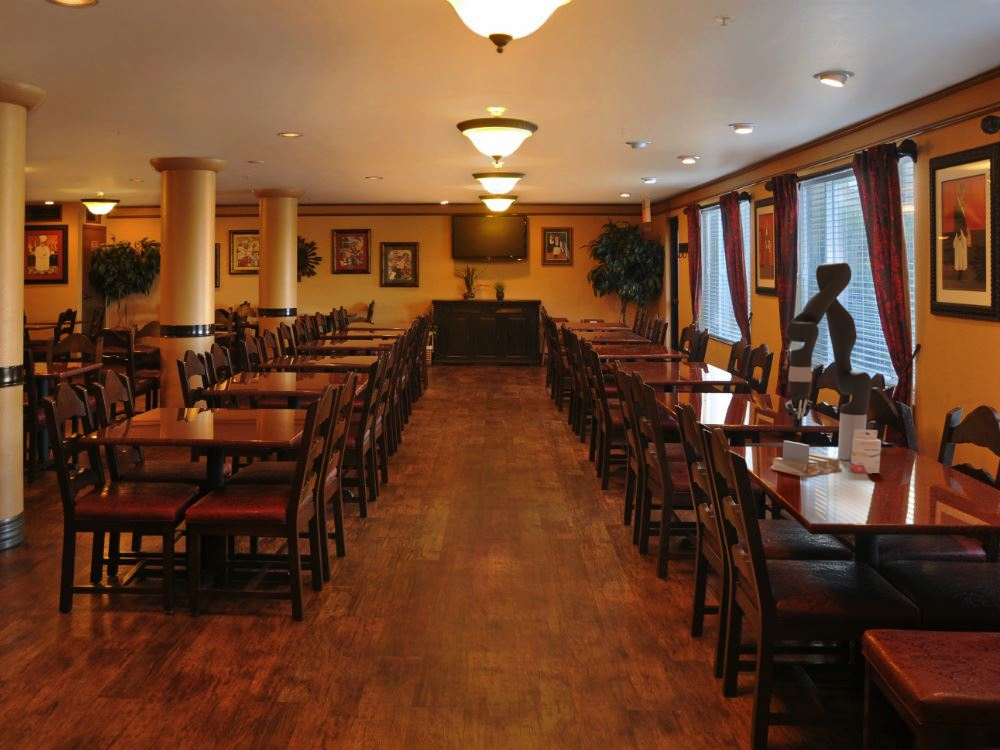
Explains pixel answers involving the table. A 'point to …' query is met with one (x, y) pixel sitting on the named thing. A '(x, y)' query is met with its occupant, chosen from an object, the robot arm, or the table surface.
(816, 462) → the rack
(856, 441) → the ink cartridge box
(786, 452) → the panel
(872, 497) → the table surface
